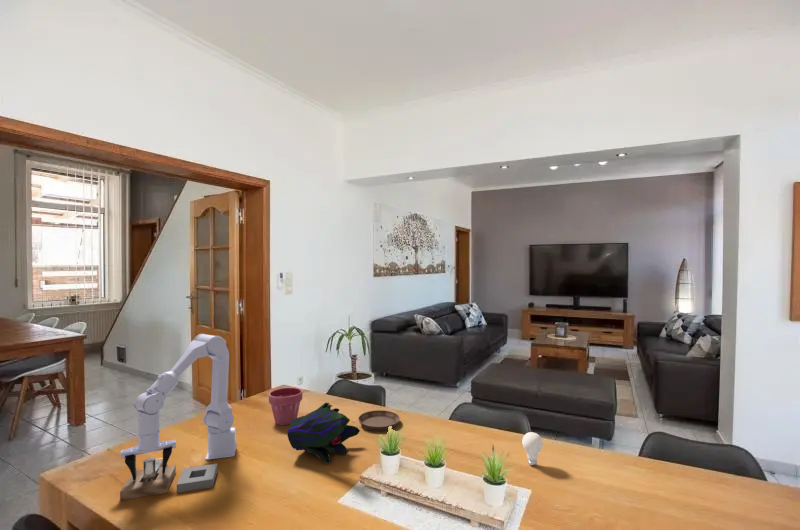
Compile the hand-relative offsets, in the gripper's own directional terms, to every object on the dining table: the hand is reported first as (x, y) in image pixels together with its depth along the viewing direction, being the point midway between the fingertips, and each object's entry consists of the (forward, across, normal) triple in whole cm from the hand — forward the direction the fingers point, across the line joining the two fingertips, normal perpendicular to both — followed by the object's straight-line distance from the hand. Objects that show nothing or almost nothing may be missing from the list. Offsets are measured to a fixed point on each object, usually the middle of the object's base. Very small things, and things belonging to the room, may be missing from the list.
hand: (149, 475), depth 125 cm
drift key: (+3, -2, -7) cm, 8 cm away
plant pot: (+3, -49, -31) cm, 58 cm away
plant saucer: (+4, -83, -7) cm, 84 cm away
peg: (+3, 0, 0) cm, 3 cm away
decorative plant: (+3, -56, +8) cm, 56 cm away
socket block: (+3, 0, 0) cm, 3 cm away
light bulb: (+3, -113, +50) cm, 124 cm away
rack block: (+3, -13, +5) cm, 14 cm away
